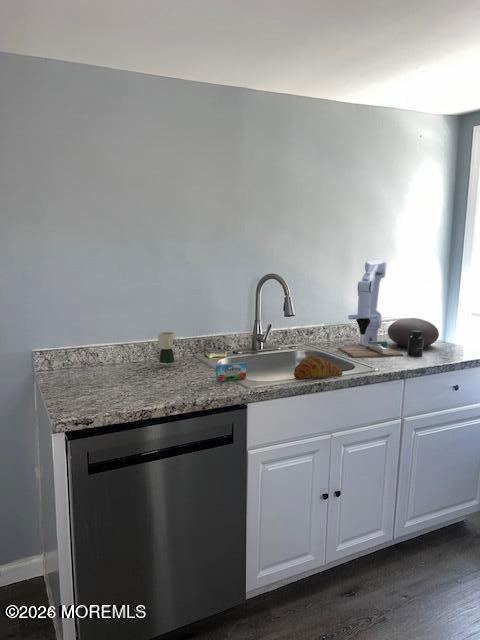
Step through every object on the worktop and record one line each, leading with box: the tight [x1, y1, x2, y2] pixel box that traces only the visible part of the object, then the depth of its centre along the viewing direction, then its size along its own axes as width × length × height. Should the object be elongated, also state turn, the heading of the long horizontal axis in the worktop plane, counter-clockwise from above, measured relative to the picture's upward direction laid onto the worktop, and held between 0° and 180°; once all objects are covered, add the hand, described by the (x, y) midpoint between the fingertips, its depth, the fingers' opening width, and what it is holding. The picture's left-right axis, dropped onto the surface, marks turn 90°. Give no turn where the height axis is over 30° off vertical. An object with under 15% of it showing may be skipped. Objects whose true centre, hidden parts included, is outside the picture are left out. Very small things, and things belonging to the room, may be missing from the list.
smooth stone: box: [387, 317, 440, 348], centre depth 240 cm, size 25×25×15 cm
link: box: [367, 337, 388, 354], centre depth 226 cm, size 15×4×5 cm, turn 14°
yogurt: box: [215, 361, 247, 383], centre depth 177 cm, size 12×2×6 cm, turn 114°
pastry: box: [293, 355, 343, 380], centre depth 185 cm, size 21×13×8 cm, turn 114°
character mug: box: [157, 331, 176, 365], centre depth 199 cm, size 11×7×13 cm, turn 19°
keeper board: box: [338, 340, 404, 359], centre depth 226 cm, size 18×25×5 cm
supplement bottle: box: [406, 330, 424, 358], centre depth 220 cm, size 7×7×12 cm
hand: (362, 334), depth 224 cm, fingers closed
